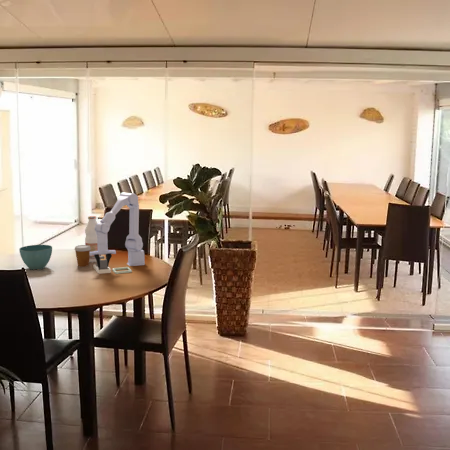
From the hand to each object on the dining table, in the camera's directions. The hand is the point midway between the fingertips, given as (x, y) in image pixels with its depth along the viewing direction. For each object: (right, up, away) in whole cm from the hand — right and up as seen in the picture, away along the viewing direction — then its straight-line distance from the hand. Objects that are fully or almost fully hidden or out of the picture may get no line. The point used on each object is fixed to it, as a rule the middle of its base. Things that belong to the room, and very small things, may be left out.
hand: (103, 267), depth 321 cm
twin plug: (-3, -1, +8) cm, 8 cm away
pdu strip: (-2, -3, +4) cm, 5 cm away
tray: (+10, -3, +2) cm, 11 cm away
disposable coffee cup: (-15, -1, +16) cm, 22 cm away
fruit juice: (-12, +1, +29) cm, 31 cm away
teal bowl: (-41, -2, +10) cm, 42 cm away
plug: (0, -3, 0) cm, 3 cm away
